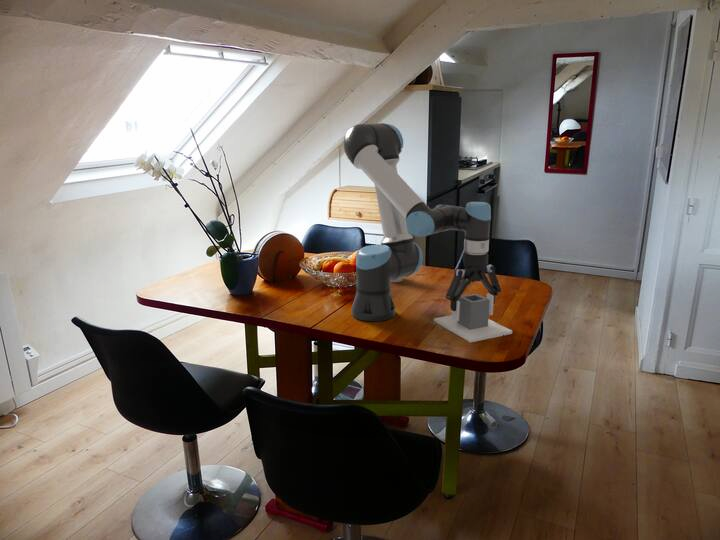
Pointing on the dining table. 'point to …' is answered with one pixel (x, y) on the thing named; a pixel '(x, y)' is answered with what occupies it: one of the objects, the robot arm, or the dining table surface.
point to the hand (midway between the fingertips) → (472, 316)
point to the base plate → (474, 334)
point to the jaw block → (473, 311)
